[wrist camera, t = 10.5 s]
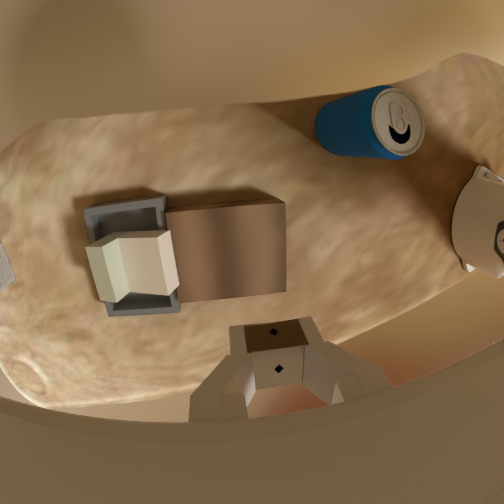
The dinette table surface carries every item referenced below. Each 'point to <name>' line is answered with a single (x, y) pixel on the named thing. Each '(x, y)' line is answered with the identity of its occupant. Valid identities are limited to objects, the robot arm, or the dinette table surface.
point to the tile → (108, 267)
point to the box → (132, 219)
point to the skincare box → (5, 270)
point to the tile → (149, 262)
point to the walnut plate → (229, 249)
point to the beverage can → (372, 124)
